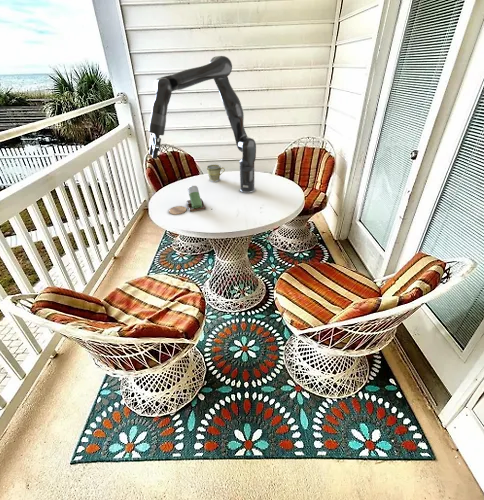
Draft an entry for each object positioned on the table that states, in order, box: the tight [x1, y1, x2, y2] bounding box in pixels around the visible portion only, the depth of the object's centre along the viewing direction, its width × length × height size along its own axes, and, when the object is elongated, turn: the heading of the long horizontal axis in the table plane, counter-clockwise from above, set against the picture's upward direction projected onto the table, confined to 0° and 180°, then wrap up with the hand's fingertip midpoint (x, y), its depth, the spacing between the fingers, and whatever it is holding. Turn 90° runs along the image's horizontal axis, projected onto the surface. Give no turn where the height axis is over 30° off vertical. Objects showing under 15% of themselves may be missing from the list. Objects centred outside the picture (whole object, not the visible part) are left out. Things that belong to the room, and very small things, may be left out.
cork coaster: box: [168, 205, 187, 215], centre depth 159 cm, size 10×10×1 cm
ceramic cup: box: [206, 164, 226, 183], centre depth 196 cm, size 13×10×10 cm
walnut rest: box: [186, 198, 206, 213], centre depth 161 cm, size 10×9×3 cm
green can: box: [187, 185, 203, 209], centre depth 158 cm, size 12×6×13 cm, turn 19°
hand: (152, 156), depth 142 cm, fingers open, 8 cm apart
